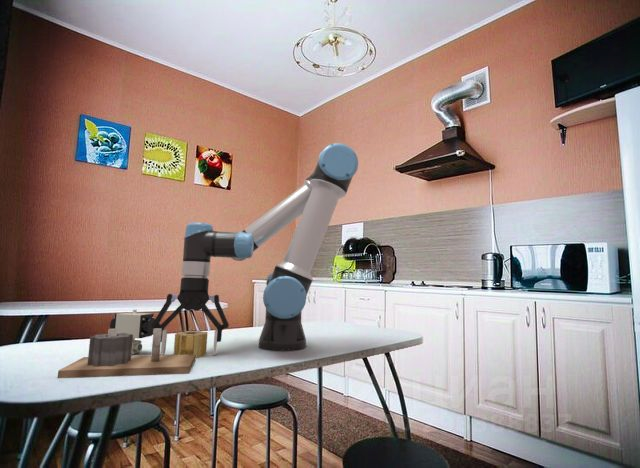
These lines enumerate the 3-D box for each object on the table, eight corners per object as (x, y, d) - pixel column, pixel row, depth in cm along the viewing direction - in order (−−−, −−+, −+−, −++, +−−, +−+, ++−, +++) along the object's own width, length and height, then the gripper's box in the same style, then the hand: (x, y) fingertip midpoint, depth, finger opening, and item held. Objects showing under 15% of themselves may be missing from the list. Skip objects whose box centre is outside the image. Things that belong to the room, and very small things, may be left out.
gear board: (195, 360, 93) (197, 325, 94) (189, 373, 80) (191, 332, 81) (83, 363, 87) (87, 325, 88) (57, 378, 74) (62, 333, 75)
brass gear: (206, 351, 103) (208, 330, 104) (204, 358, 95) (206, 335, 96) (176, 352, 101) (178, 331, 102) (171, 359, 93) (173, 335, 94)
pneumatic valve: (143, 356, 96) (147, 311, 97) (106, 353, 98) (110, 309, 100) (156, 352, 101) (160, 309, 103) (121, 350, 103) (125, 308, 105)
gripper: (239, 278, 108) (235, 350, 105) (151, 275, 102) (143, 351, 99) (240, 278, 100) (235, 356, 98) (144, 275, 95) (136, 357, 92)
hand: (189, 354), depth 98 cm, fingers open, 13 cm apart
